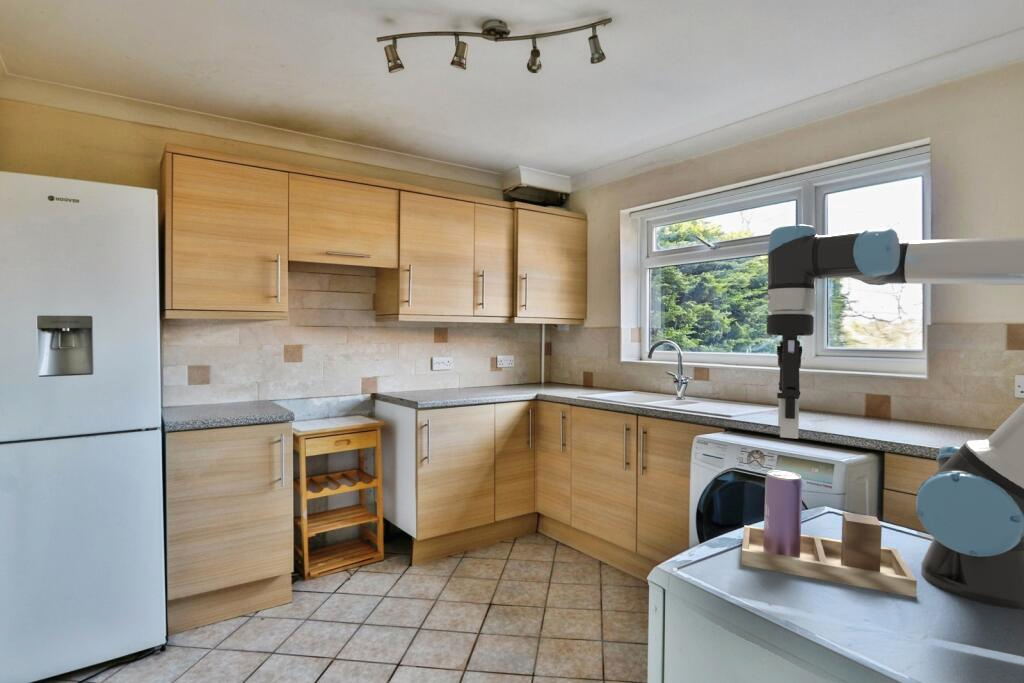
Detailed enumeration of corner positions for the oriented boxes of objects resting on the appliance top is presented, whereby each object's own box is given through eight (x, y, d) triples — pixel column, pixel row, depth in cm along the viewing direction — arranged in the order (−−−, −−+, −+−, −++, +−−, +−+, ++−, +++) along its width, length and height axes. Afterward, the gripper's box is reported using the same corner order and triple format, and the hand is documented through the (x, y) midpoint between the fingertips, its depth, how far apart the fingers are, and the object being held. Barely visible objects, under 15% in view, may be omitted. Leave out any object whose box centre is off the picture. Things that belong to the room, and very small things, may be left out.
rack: (896, 567, 97) (896, 549, 97) (916, 601, 84) (916, 580, 84) (743, 541, 107) (744, 525, 107) (741, 568, 95) (741, 550, 95)
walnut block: (874, 568, 94) (876, 516, 94) (879, 579, 90) (881, 525, 90) (840, 562, 97) (842, 512, 96) (844, 573, 92) (846, 520, 92)
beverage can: (804, 565, 95) (807, 480, 95) (767, 561, 96) (770, 477, 96) (794, 552, 101) (796, 471, 100) (759, 548, 102) (762, 469, 102)
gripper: (766, 316, 110) (764, 420, 111) (767, 310, 88) (764, 440, 88) (808, 316, 107) (806, 423, 107) (820, 309, 85) (817, 445, 85)
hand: (787, 431), depth 98 cm, fingers open, 13 cm apart
